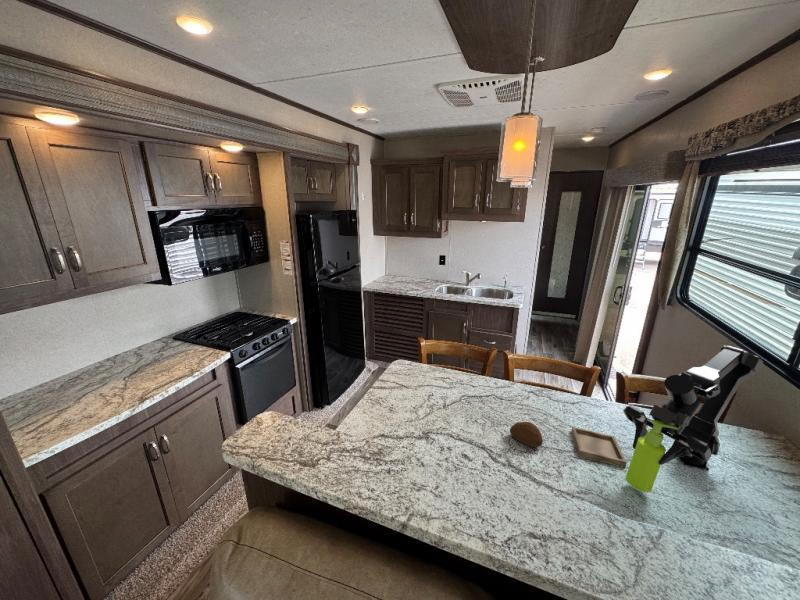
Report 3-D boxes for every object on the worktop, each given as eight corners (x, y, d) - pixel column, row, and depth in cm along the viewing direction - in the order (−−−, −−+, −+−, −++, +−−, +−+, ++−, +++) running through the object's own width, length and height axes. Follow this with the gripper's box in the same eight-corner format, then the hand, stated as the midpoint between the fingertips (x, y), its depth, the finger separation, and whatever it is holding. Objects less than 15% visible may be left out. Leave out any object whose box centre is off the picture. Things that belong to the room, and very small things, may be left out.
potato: (512, 429, 110) (515, 412, 108) (544, 442, 104) (547, 424, 103) (506, 439, 105) (509, 421, 103) (539, 454, 99) (542, 435, 97)
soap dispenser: (660, 495, 83) (684, 432, 78) (631, 489, 84) (653, 427, 79) (648, 478, 89) (669, 417, 83) (621, 472, 90) (640, 413, 84)
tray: (612, 441, 107) (614, 436, 106) (625, 467, 95) (626, 462, 95) (571, 431, 111) (572, 426, 110) (578, 455, 99) (579, 450, 99)
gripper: (635, 379, 90) (602, 421, 88) (720, 417, 74) (683, 469, 72) (643, 398, 95) (613, 438, 93) (725, 437, 79) (690, 486, 77)
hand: (646, 455), depth 84 cm, fingers closed on soap dispenser, 6 cm apart
